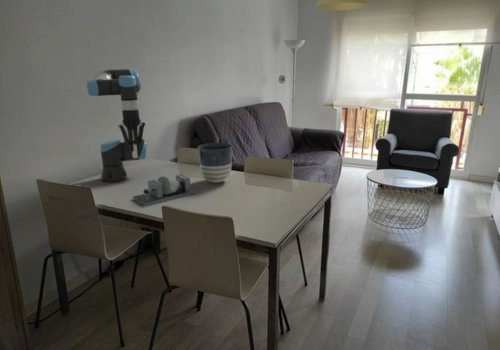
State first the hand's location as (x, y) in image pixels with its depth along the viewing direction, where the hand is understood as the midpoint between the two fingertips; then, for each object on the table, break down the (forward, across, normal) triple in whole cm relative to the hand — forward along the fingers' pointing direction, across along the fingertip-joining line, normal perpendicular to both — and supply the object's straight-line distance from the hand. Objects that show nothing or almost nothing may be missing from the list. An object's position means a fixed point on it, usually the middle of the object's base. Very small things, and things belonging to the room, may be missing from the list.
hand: (135, 157), depth 183 cm
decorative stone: (+22, +16, -2) cm, 27 cm away
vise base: (+23, +12, -2) cm, 26 cm away
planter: (+24, +48, +1) cm, 54 cm away
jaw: (+21, +6, -2) cm, 22 cm away
